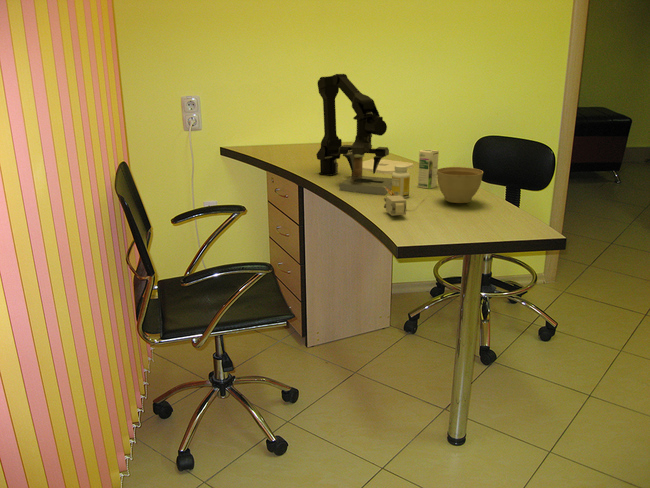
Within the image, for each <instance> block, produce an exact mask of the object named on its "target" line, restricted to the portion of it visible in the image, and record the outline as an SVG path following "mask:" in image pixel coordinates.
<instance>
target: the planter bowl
mask: <svg viewBox="0 0 650 488" xmlns="http://www.w3.org/2000/svg"><path fill="white" fill-rule="evenodd" d="M483 175H484V171H483V170H481V169H478V168H473V167H465V166H449V167H448V166H445V167H440V168H438V170H437V185H438V187H439V189H440V191H441V193H442V195H443V197H444V200H445V202H449V203H454V204H455V203H456V204H465V203H466V204H467V203H470V202H472V198H473V197H475V195H476V194H477V192H478V191H479V190H480V186H481V183H482V180H483Z"/></svg>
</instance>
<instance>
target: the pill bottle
mask: <svg viewBox="0 0 650 488" xmlns="http://www.w3.org/2000/svg"><path fill="white" fill-rule="evenodd" d="M408 169H409V168H408V166H407V165H395V172H394V173H393V174H391V178H392V190H391V192H393V193H394V194H395V195H396V196H398V195H400V196H402V197H403V198H404V199H406V198H409V196H410V176H411V174H410V173H409V171H408ZM393 193H391V195H392V196H394V194H393Z"/></svg>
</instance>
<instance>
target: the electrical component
mask: <svg viewBox="0 0 650 488" xmlns="http://www.w3.org/2000/svg"><path fill="white" fill-rule="evenodd" d="M383 187H384V186H383ZM384 188H386V187H384ZM386 190H387V191H388V193H387V194H389V195H385V197H383V200H384V202H385V203H384V205H383V208H384V209H385V211H386V212H387V213H388V214H389V215H391V216H405V215H407V199H406V198H403V197H402V196H400V195H398V196H396V195H395V194H394V193H393V192H392V190H389V189H387V188H386ZM392 193H393V194H394V196H392Z"/></svg>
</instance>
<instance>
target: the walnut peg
mask: <svg viewBox="0 0 650 488" xmlns="http://www.w3.org/2000/svg"><path fill="white" fill-rule="evenodd" d="M364 157H365V154H364V155H359V154H355V155H354V172H352V171H351V176H353V175H355V176H363V170H362V164H363V160H364V159H363V158H364ZM351 176H350V177H351Z"/></svg>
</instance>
